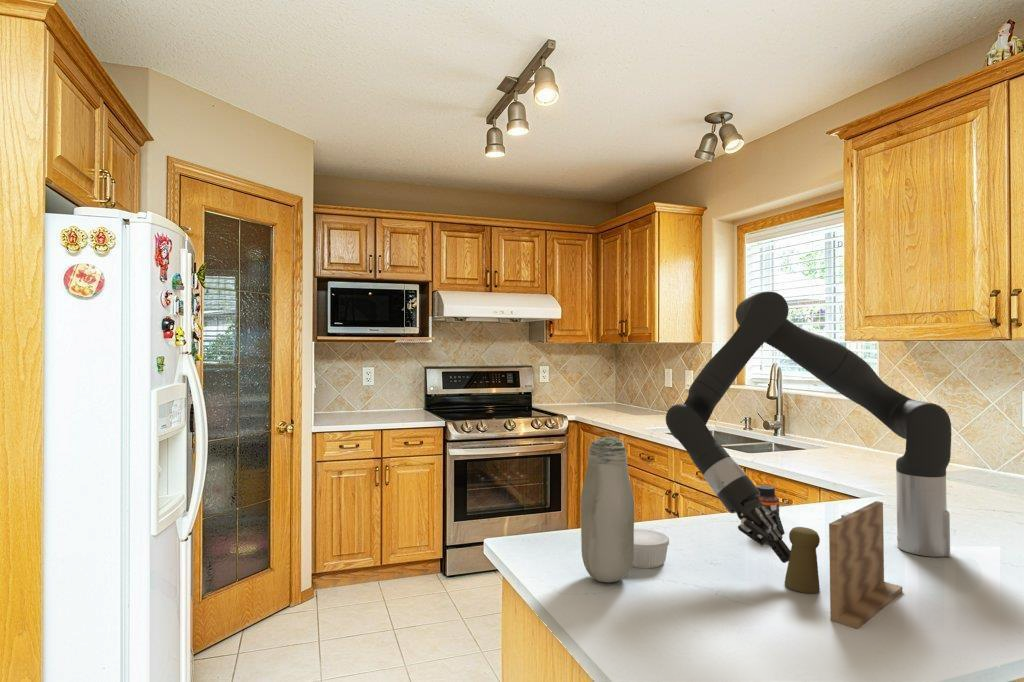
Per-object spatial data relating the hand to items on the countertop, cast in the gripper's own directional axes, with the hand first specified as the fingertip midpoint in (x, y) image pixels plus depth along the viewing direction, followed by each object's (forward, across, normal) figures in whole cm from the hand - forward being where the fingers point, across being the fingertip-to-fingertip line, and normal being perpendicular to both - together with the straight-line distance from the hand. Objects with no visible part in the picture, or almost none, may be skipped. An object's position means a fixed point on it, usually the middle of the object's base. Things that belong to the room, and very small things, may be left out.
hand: (789, 560), depth 114 cm
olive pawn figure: (+5, 0, +2) cm, 5 cm away
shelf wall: (+13, +1, -7) cm, 14 cm away
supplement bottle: (-10, +27, +16) cm, 33 cm away
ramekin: (-15, -11, +22) cm, 29 cm away
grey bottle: (-13, -25, +21) cm, 35 cm away
